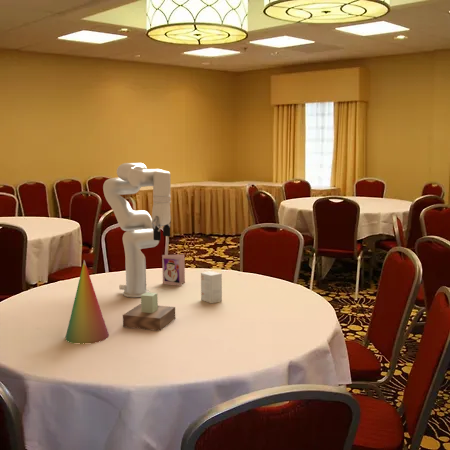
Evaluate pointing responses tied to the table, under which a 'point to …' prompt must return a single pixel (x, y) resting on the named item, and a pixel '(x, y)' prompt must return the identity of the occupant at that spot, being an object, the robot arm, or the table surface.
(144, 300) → the sage block
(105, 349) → the table surface
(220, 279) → the small box
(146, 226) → the robot arm
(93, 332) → the decorative cone
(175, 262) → the greeting card
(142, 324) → the walnut base
